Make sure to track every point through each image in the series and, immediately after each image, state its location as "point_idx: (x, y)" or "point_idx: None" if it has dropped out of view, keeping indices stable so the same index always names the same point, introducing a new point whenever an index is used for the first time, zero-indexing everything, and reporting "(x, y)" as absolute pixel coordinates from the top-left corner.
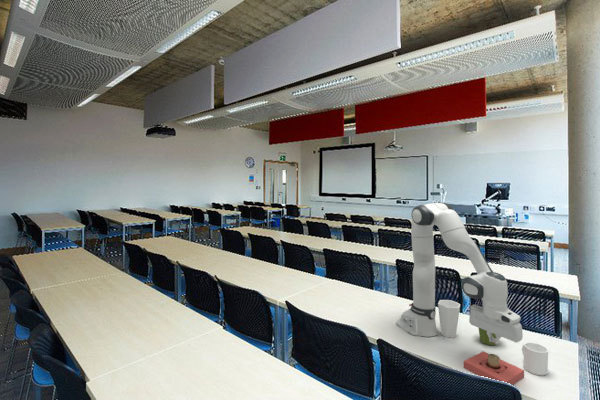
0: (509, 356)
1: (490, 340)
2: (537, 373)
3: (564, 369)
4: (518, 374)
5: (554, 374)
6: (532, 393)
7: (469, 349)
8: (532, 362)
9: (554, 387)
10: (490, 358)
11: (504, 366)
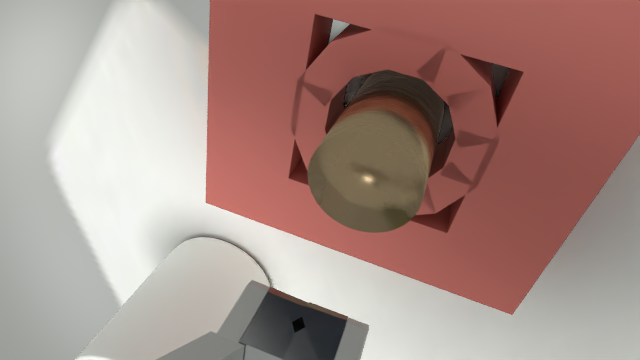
0: None
1: (341, 338)
2: (190, 241)
3: None
4: (208, 127)
5: None
6: (127, 9)
7: (632, 337)
8: (176, 287)
9: (106, 167)
10: (386, 132)
11: None
